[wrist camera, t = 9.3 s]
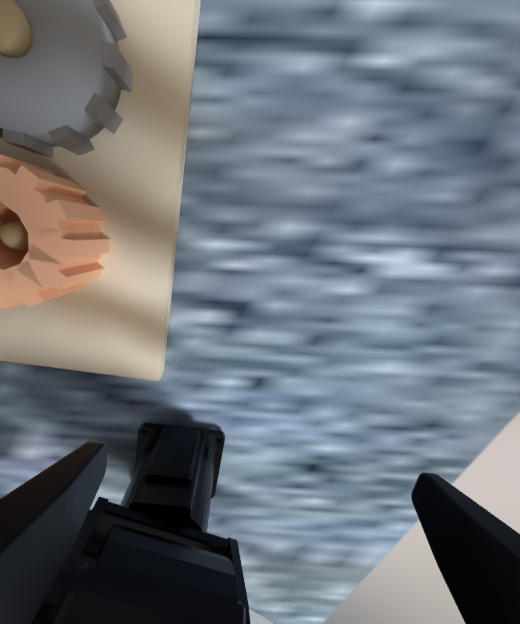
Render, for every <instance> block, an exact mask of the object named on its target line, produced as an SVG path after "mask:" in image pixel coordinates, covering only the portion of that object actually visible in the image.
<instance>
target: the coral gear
mask: <svg viewBox="0 0 520 624" xmlns="http://www.w3.org/2000/svg"><path fill="white" fill-rule="evenodd" d="M86 192H87V191H85V190H84V189H83V188H81V187H80V186H79V185H78V184H76V183H75V182H74V181H71V180H68V179H65V178H62V177H59V176H55V172H53V171H50V170H47V169H43V168H40V167H37V166H34V165H31V164H28V163H25V162H22V161H19V160H16V159H13V158H10V157H7V156H4V155H1V154H0V229H1V227H2V226H3V225H4V224H6V223H8V222H20V221H22V223H23V225H24V226H25V228H26V230H27V232H28V244H29V250H15V249H12V248H10V247H8V246H7V245H5V244H4V243H3V241H2V240H1V238H0V308H5V309H8V308H11V307H14V306H17V305H20V304H23V303H26V305H27V306H28V307H29V306H32V305H35V304H38V303H41V302H44V301H47V300H50V299H53V298H56V297H59V296H62V295H65V294H68V293H70V292H73V291H76V290H79V289H82V288H84V287H85V286H84V284H83V282H86V281H89V280H93V279H96V278H98V277H99V275H100V274H101V273H102V271H103V270H104V267H103V266H102V265H100V264H99V263H97V262H98V261H99V260H100V258H101V254H105V253H110V239H107V238H102V237H101V235H102V231H101V229H100V227H99V225H98V224H101V223H103V222H106V220H105V218H104V216H103V214H102V212H101V210H100V208H99V207H95V206H90V205H88V203H86V202H85V201H84V200H83V199H82V198H83V196H84V195H85V193H86Z"/></svg>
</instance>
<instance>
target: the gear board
mask: <svg viewBox="0 0 520 624" xmlns="http://www.w3.org/2000/svg"><path fill="white" fill-rule="evenodd" d="M200 4H201V0H0V154H1V155H4V156H7V157H10V158H13V159H16V160H19V161H22V162H25V163H28V164H31V165H34V166H37V167H40V168H43V169H47V170H50V171H53V172H55V176H59V177H62V178H65V179H68V180H71V181H74V182H75V183H76V184H78V185H79V186H80V187H81V188H83V189H84V190H85V191H87V192H86V193H85V195H84V196H83V198H82V199H83V200H84V201H85V202H86V203H88V205H90V206H95V207H99V208H100V210H101V212H102V214H103V216H104V218H105V220H106V222H103V223H101V224H98V225H99V227H100V229H101V231H102V235H101V237H102V238H107V239H110V253H105V254H101V258H100V260H99V261H98V262H97V263H99V264H100V265H102V266H103V267H104V270H103V271H102V273H101V274H100V275H99V277H98V278H96V279H93V280H89V281H86V282H83V284H84V286H85V287H84V288H82V289H79V290H76V291H73V292H70V293H68V294H65V295H62V296H59V297H56V298H53V299H50V300H47V301H44V302H41V303H38V304H35V305H32V306H29V307H28V306H27V305H26V303H23V304H20V305H17V306H14V307H11V308H8V309H5V308H0V361H6V362H14V363H22V364H29V365H37V366H45V367H53V368H61V369H68V370H76V371H84V372H92V373H100V374H107V375H115V376H123V377H131V378H139V379H146V380H154V381H159V380H160V378H161V376H162V375H163V373H164V365H165V355H166V345H167V335H168V325H169V315H170V305H171V295H172V285H173V275H174V264H175V254H176V244H177V234H178V224H179V214H180V204H181V194H182V184H183V174H184V164H185V154H186V144H187V134H188V124H189V114H190V104H191V94H192V84H193V74H194V64H195V54H196V44H197V34H198V24H199V14H200ZM0 238H1V240H2V241H3V243H4V244H5V245H7V246H8V247H10V248H12V249H15V250H29V244H28V232H27V230H26V228H25V226H24V225H23V223H22V221H20V222H8V223H6V224H4V225H3V226H2V227H1V229H0Z"/></svg>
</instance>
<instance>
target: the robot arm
mask: <svg viewBox="0 0 520 624" xmlns="http://www.w3.org/2000/svg"><path fill="white" fill-rule="evenodd" d="M144 429H146V430H148V431H145V430H144ZM217 437H220V439H217ZM224 441H225V434H224V433H223V432H222V431H216V430H207V429H198V428H189V427H180V426H171V425H161V424H152V423H144V424H142V425H141V426H140V428H139V430H138V440H137V453H136V467H135V473H134V475H133V478H132V480H131V482H130V484H129V487H128V489H127V491H126V493H125V495H124V498H123V500H122V502H121V504H120V505H118V504H114V503H111V502H108V499H105V498H102V497H99V498H98V500H97V502H96V503H95V505H94V507H93V509H92V510H89V509H90V507H91V505H92V502H93V500H94V498H95V495H96V493H97V491H98V489H99V486H100V484H101V482H102V480H103V477H104V475H105V471H106V462H107V445H106V443H105V442H99V441H89V442H87V443H85V444H84V445H82V446H80V447H79V448H77V449H76V450H74V451H73V452H71V453H70V454H68V455H67V456H65V457H64V458H62V459H61V460H59V461H58V462H56V463H55V464H53V465H51V466H50V467H48V468H47V469H45V470H44V471H42V472H41V473H39V474H38V475H36V476H35V477H33V478H32V479H30V480H29V481H27V482H25V483H24V484H22V485H21V486H19V487H18V488H16V489H15V490H13V491H12V492H10V493H9V494H7V495H6V496H4V497H3V498H1V499H0V624H250V613H249V606H248V600H247V594H246V588H245V583H244V577H243V571H242V566H241V560H240V554H239V548H238V543H237V540H235V539H232V538H228V539H226V538H222V537H219V536H216V535H213V534H210V533H207V526H208V518H209V510H210V501H211V498H213V497H214V495H215V490H216V485H217V479H218V474H219V468H220V463H221V457H222V452H223V446H224ZM411 496H412V502H413V505H414V507H415V510H416V512H417V515H418V517H419V520H420V522H421V525H422V528H423V530H424V533H425V535H426V537H427V540H428V543H429V545H430V547H431V550H432V553H433V555H434V557H435V560H436V562H437V565H438V567H439V569H440V571H441V573H442V576H443V578H444V580H445V582H446V584H447V586H448V588H449V590H450V592H451V594H452V597H453V599H454V601H455V603H456V605H457V607H458V609H459V611H460V613H461V615H462V617H463V619H464V622H465V624H520V534H519V533H517V532H516V531H515V530H513V529H512V528H511V527H509V526H508V525H506V524H505V523H504V522H502V521H501V520H499V519H498V518H497V517H495V516H494V515H492V514H491V513H490V512H488V511H487V510H486V509H484V508H483V507H481V506H480V505H479V504H477V503H476V502H474V501H473V500H472V499H470V498H469V497H467V496H466V495H465V494H463V493H462V492H460V491H459V490H458V489H456V488H455V487H454V486H452V485H451V484H450V483H448V482H447V481H445V480H444V479H443V478H441V477H440V476H438V475H437V474H434V473H421V474H420V475H419V477H418V479H417V481H416V484H415V486H414V488H413V491H412V495H411Z"/></svg>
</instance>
